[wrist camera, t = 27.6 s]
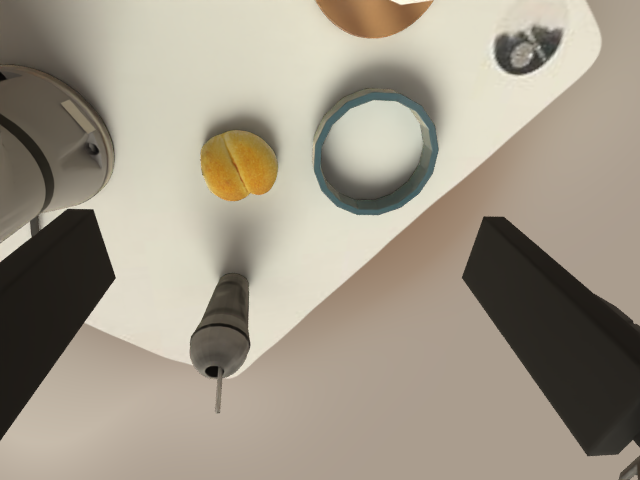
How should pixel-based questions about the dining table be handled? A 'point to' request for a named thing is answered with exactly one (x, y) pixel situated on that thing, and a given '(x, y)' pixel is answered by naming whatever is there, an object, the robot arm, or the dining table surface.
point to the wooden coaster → (372, 16)
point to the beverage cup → (223, 332)
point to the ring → (403, 192)
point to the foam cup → (408, 1)
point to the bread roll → (238, 165)
